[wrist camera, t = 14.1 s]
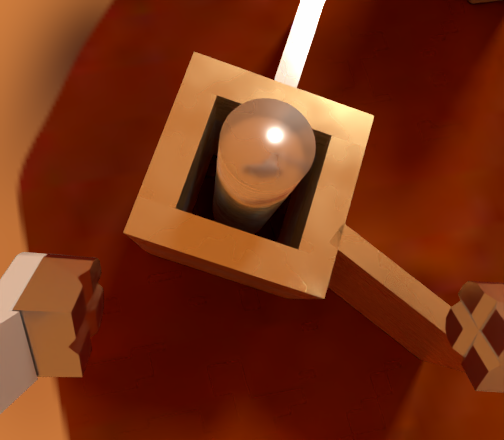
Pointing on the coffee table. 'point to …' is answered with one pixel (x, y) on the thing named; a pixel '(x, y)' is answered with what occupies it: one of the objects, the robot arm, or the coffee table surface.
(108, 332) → the coffee table surface
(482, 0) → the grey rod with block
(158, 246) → the cream winged socket block
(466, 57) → the coffee table surface
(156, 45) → the coffee table surface
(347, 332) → the coffee table surface
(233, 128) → the rounded cylinder
